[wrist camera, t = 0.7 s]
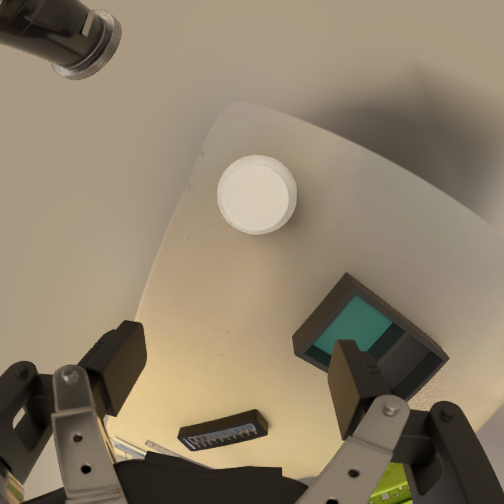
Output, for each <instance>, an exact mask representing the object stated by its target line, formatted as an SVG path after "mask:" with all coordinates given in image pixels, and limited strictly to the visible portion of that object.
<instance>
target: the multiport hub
mask: <svg viewBox="0 0 504 504" xmlns="http://www.w3.org/2000/svg"><path fill="white" fill-rule="evenodd" d="M267 435H268V423H267V422H266V421H265V419H264V418H263V417H262V416H261V414H260V413H259V412H258V410H255V409H254V410H251V411H247V412H244V413H240V414H237V415H233V416H229V417H225V418H222V419H218V420H213V421H209V422H205V423H201V424H196V425H192V426H187V427H182V428H180V430H179V434H178V437H177V439H178V440H179V441H180V442H181V443H183V444H184V445H185V446H186V447H187V448H188V449H189V450H190V451H199V450H205V449H210V448H216V447H221V446H226V445H230V444H235V443H239V442H244V441H248V440H252V439H256V438H260V437H264V436H267Z"/></svg>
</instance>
